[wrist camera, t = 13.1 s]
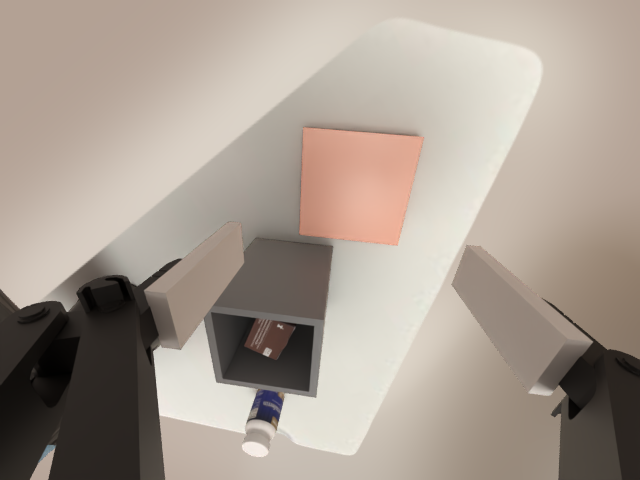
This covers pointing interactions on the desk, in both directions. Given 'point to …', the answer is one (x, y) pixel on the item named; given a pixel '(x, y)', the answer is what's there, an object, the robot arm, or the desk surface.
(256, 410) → the pill bottle
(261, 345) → the box
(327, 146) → the lid
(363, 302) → the desk surface
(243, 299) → the bin
